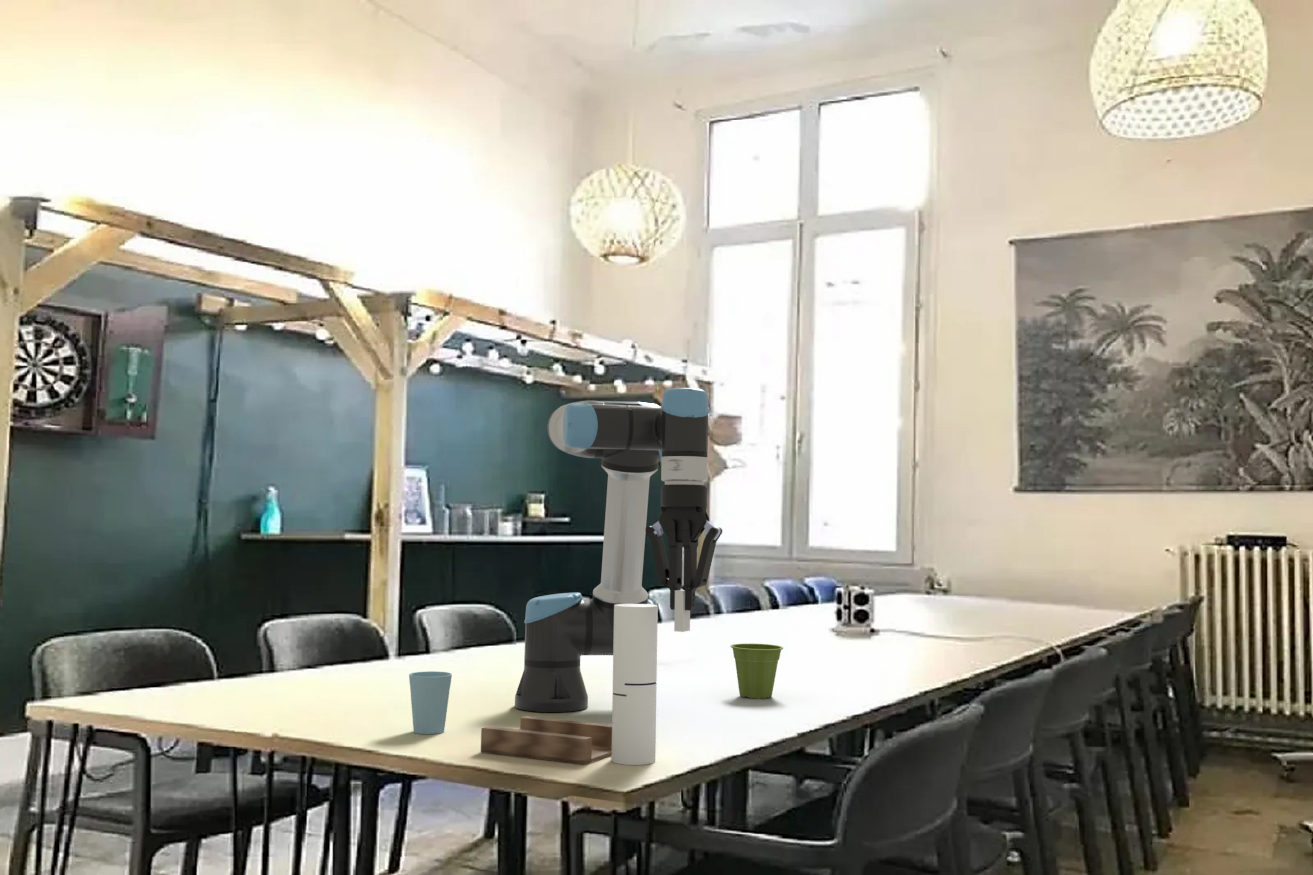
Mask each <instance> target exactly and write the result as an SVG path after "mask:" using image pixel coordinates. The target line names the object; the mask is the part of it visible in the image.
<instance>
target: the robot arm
mask: <svg viewBox="0 0 1313 875" xmlns="http://www.w3.org/2000/svg"><path fill="white" fill-rule="evenodd" d="M708 400H709V396H708V393H707V391H705V390H704V389H702V388H696V387H695V388H694V387H677V388H676V387H675V388H673V387H672V388H667V389H665V390H664V391H663V393H662V402H661V404H660V405H658V404H657V403H651V402H650V403H649V402H642V401H624V400H623V401H616V400H615V401H614V400H600V401H599V400H581V401H575V402H570V403H566V404H563V405H560V406H559V407H558V408H556V409H555V410H553V412H552V413H551V414H550V416H549V418H548V422H547V425H546V426H547V429H546V430H547V436H548V438H549V440H550V441H551V443H552V445H553V446H554V447H556V449H558V450H560V452H561V451H562V452H564V453H566V454H568V455H572V456H576V457H581V458H587V459H601V463H600V464H601V468H602V470H604V472H606V473H607V475H608V476H607V489H606V502H605V515H604V516H605V518H604V530H603V544H602V545H603V546H602V561H601V577H600V583H599V584H598V585H597V586H596V587H594V589H593V590H592V599H591V598H590V599H583V595H582V593H581V592H563V593H554V594H547V595H541V596H537V597H533V598H531V599H529V600H528V601H527V603H526V606H525V616H524V618H525V619H524V620H523V621H524V622H523V623H524V624H525V625H524V626H525V628H524V629H525V631H524V632H525V633H524V634H525V635H524V660H523V661H524V664H523V668H524V669H523V671H522V675H521V678H520V680H519V684H518V687H517V688H516V689H517V690H516V692H515V695H514V708H515V709H519V710H522V711H528V712H539V713H540V712H541V713H564V712H565V713H566V712H575V711H581V710H585V709H587V708H589V695H588V692H587V689H586V685H585V682H584V679H583V675H582V671H581V656H613V643H614V605H616V604H651V605H655V603H654V602H653V601H652V600H651V599H649V594H648V592H647V590H646V589H645V588H644V587H643V585H642V583H643V572H644V571H643V570H644V561H645V559H644V557H645V543H646V535H647V536H648V538H649V541H650V544H651V548H652V549H651V550H652V553H653V554H652V555H653V558H654V564H655V570H656V574H657V579H658V583H659V585H661V586H664V587H666V588H668V590H669V608H670V610H673V611H674V621H673V622H674V627H673V628H674V629H673V630H674V632H679V633H684V632H689V631H691V611H694V610H695V608H696V591H697V589H699V588H702V587H705V586H707V584H708V579H709V575H710V572H711V571H710V570H711V568H712V563H713V558H714V553H715V549H716V545H717V542H718V541H719V539H720V538H721V536H722V534H723V529H722V527H717V526H715V525H714V524H713V523H711V522H710V517H709V514H708V513H707V508H708V487H707V486H706V485H704V484H705V483H706V482H708V468H709V467H708V450H709V449H708V448H709V446H708V445H709V444H708V443H709V414H710V409H709V401H708ZM659 461H660V462H661V468H660V469H661V471H660V472H661V473H660V474H661V475H660V478H661V479H660V480H661V482H664V484H662V486H661V487H660V510H661V511H660V514H659V516H658V521H656V522H655V523H653V525H649V526H647V519H648V518H647V517H648V504H649V494H650V493H649V492H650V480H651V477H652V475H654V474H655V473H657V471H658V470H659ZM703 532H704V536H705V537H704V540H703V542H702V546H701V550H700V554H699V558H698V547H699V538H700V537H701V535H702V534H703ZM664 533H665V534H666V536H667V539H668V540H667V542H668V544H667V546H668V549H669V550H668V551H669V554H667V548H666V544H665V543H666V542H665V540H664V537H663V534H664ZM668 556H669V558H668ZM698 559H699V560H698Z"/></svg>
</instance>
